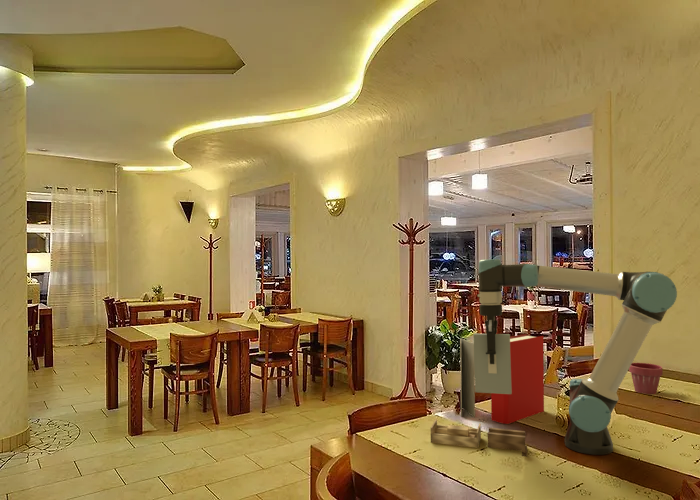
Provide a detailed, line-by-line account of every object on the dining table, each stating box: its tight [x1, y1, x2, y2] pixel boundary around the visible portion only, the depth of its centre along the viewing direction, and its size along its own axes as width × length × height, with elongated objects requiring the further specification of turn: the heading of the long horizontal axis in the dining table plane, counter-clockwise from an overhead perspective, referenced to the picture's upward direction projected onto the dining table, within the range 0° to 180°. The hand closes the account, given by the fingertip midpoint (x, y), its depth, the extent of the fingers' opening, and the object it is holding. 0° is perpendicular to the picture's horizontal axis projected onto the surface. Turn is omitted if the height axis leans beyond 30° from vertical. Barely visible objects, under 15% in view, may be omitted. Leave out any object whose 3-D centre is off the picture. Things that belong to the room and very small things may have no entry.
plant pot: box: [628, 362, 663, 395], centre depth 252 cm, size 14×14×13 cm
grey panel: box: [472, 333, 512, 394], centre depth 179 cm, size 12×2×20 cm, turn 71°
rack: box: [430, 418, 482, 449], centre depth 182 cm, size 16×10×6 cm, turn 71°
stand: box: [487, 427, 528, 457], centre depth 176 cm, size 13×8×6 cm, turn 71°
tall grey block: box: [459, 338, 476, 418], centre depth 220 cm, size 14×6×30 cm, turn 168°
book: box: [490, 333, 545, 425], centre depth 215 cm, size 27×8×32 cm, turn 129°
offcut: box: [447, 424, 470, 437], centre depth 180 cm, size 7×4×2 cm, turn 71°
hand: (492, 372), depth 179 cm, fingers closed on grey panel, 2 cm apart
